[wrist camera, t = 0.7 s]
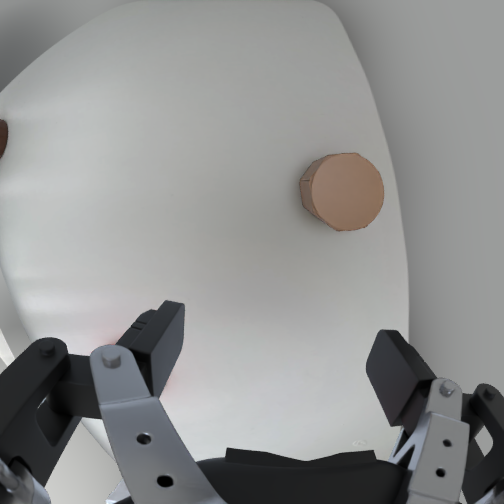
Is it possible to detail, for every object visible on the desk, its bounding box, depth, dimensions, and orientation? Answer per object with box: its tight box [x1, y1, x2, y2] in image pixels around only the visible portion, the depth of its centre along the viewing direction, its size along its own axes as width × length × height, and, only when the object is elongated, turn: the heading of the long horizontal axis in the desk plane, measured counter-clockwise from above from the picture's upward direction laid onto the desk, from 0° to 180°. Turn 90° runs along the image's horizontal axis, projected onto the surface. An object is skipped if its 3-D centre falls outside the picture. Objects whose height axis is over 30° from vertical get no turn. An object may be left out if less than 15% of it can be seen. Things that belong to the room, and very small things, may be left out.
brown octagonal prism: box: [299, 153, 384, 231], centre depth 22 cm, size 6×6×6 cm
